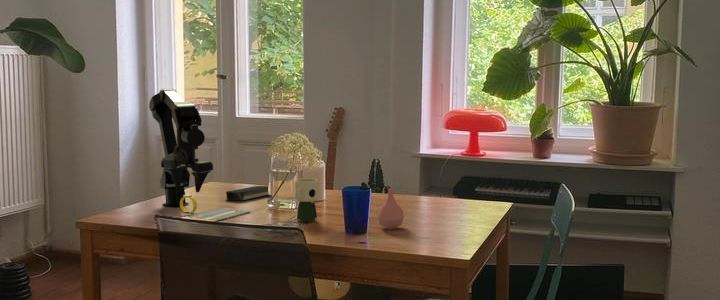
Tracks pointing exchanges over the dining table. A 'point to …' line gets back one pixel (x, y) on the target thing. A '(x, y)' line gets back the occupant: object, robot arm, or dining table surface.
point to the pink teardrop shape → (390, 212)
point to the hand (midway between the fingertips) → (187, 190)
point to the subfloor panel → (219, 213)
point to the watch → (191, 199)
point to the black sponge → (247, 193)
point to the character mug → (306, 198)
